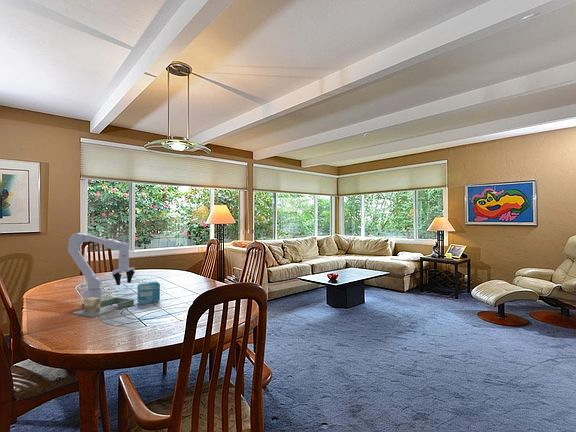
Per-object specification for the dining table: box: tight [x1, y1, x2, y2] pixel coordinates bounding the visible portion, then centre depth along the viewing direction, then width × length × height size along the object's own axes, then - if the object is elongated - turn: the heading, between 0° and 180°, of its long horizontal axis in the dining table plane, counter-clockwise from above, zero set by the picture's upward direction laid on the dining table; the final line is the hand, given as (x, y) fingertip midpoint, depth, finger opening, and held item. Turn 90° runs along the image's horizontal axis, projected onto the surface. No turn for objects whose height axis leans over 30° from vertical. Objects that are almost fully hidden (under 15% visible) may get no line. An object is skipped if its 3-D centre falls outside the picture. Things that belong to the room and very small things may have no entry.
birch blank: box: [84, 297, 101, 313], centre depth 172 cm, size 4×7×7 cm, turn 67°
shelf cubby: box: [100, 296, 135, 310], centre depth 185 cm, size 15×10×3 cm, turn 66°
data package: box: [136, 281, 161, 305], centre depth 192 cm, size 12×4×12 cm, turn 124°
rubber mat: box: [72, 307, 114, 318], centre depth 172 cm, size 16×12×1 cm
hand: (123, 283), depth 196 cm, fingers open, 7 cm apart
